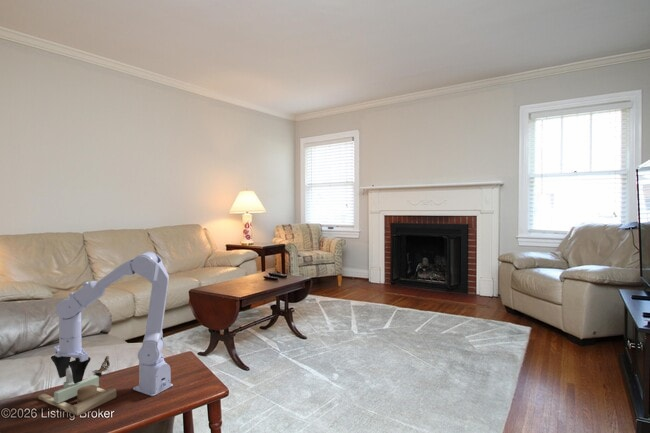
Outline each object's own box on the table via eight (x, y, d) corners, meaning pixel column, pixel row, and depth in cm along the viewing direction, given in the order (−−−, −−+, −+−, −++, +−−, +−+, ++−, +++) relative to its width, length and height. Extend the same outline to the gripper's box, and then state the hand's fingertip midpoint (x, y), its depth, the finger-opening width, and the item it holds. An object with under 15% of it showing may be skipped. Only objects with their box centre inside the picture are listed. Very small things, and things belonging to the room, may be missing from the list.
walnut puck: (100, 400, 113) (100, 387, 112) (83, 408, 108) (83, 394, 108) (90, 396, 115) (90, 383, 115) (73, 404, 110) (73, 390, 110)
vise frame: (116, 397, 114) (116, 389, 114) (77, 415, 104) (77, 407, 104) (77, 382, 123) (77, 375, 123) (38, 398, 113) (38, 390, 113)
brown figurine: (112, 363, 137) (110, 354, 135) (103, 381, 129) (100, 372, 128) (107, 363, 136) (105, 354, 134) (97, 381, 129) (95, 372, 127)
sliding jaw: (98, 385, 118) (98, 364, 118) (58, 403, 108) (58, 379, 107) (88, 381, 121) (87, 360, 121) (47, 398, 110) (46, 375, 110)
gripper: (42, 336, 114) (43, 379, 115) (70, 344, 108) (70, 390, 108) (67, 329, 121) (67, 370, 121) (94, 336, 114) (95, 380, 114)
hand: (70, 379), depth 115 cm, fingers open, 7 cm apart
